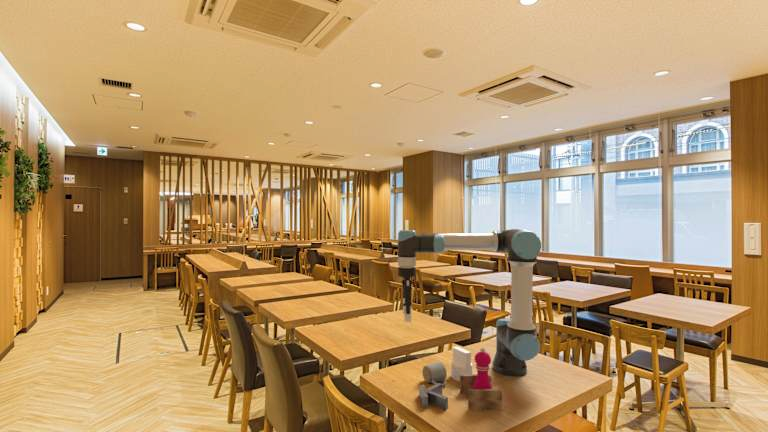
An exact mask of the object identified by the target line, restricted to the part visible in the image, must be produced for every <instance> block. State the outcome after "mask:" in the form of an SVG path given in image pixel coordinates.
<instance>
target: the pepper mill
mask: <svg viewBox="0 0 768 432" xmlns="http://www.w3.org/2000/svg"><path fill="white" fill-rule="evenodd" d="M474 362H475V363H476V364H475V366H476V367H475V369H476V370H477V373H476V374H477V378H476V380H475V382H474V385H473V389H493V386H492V382H491V383H490V381H489V378H488V374H489V370H490V364H491V362H492V358H491V355H490V354H489V353H487V352H486V349H485V348H483V347H482V348H480V351H479V352H477V353H475V355H474Z"/></svg>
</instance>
